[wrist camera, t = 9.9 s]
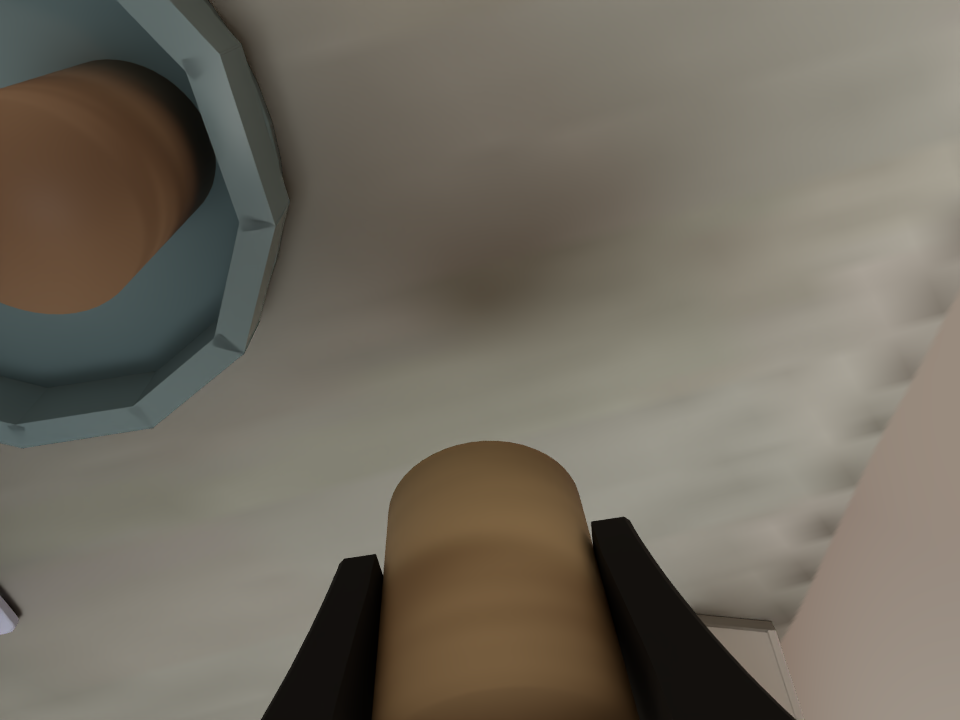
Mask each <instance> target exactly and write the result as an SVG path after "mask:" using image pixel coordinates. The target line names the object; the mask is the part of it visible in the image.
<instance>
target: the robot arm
mask: <svg viewBox="0 0 960 720" xmlns="http://www.w3.org/2000/svg"><path fill="white" fill-rule="evenodd" d="M591 527H592V540H593V549H594V553H595V556H596V560H597V564H598V568H599V571H600V575H601V579H602V582H603V586H604V590H605V593H606V597H607V600H608V604H609V608H610V611H611V615H612V619H613V622H614V626H615V630H616V634H617V637H618V641H619V645H620V648H621V652H622V656H623V660H624V663H625V667H626V671H627V674H628V678H629V682H630V685H631V689H632V693H633V697H634V700H635V704H636V708H637V711H638V715H639V719H640V720H796V719H795V718H794V717H793V716H792V715H791V714H790V713H788V712H787V711H786V710H785V709H784V708H783V707H782V706H781V705H780V704H779V703H778V702H777V701H776V700H775V699H774V698H773V697H772V696H771V695H770V694H769V693H768V692H767V691H766V690H765V689H764V688H763V687H762V686H761V685H760V684H759V683H758V682H757V681H756V680H755V679H754V678H753V677H752V676H751V675H750V674H749V673H748V672H747V671H746V670H745V669H744V668H743V667H742V666H741V664H740V663H739V662H738V661H737V660H736V659H735V658H734V657H733V656H732V655H731V654H730V653H729V651H728V650H727V649H726V648H725V647H724V646H723V645H722V644H721V642H720V641H719V640H718V639H717V638H716V637H715V636H714V635H713V633H712V632H711V631H710V630H709V629H708V628H707V626H706V625H705V624H704V623H703V622H702V621H701V619H700V618H699V617H698V616H697V615H696V613H695V612H694V611H693V610H692V608H691V607H690V606H689V605H688V603H687V602H686V601H685V600H684V598H683V597H682V596H681V595H680V593H679V592H678V591H677V590H676V588H675V587H674V586H673V584H672V583H671V582H670V580H669V579H668V578H667V576H666V575H665V574H664V572H663V571H662V569H661V568H660V567H659V565H658V564H657V562H656V561H655V560H654V558H653V557H652V555H651V554H650V552H649V551H648V549H647V548H646V546H645V545H644V543H643V542H642V540H641V539H640V537H639V535H638V534H637V532H636V531H635V529H634V527H633V525H632V524H631V522H630V520H628V519H627V518H625V517H619V518H612V519H606V520H599V521H592V522H591ZM382 586H383V574H382V571H381V568H380V565H379V562H378V559H377V556H376V554H373V555H366V556H360V557H353V558H346V559H343V561H342V562H341V563H340V564H339V566H338V569H337V571H336V574H335V576H334V578H333V581H332V583H331V585H330V588H329V590H328V592H327V594H326V597H325V599H324V601H323V603H322V605H321V608H320V610H319V612H318V614H317V616H316V618H315V620H314V622H313V624H312V626H311V628H310V631H309V632H308V634H307V636H306V638H305V640H304V642H303V644H302V646H301V648H300V650H299V652H298V654H297V656H296V658H295V660H294V662H293V664H292V666H291V668H290V669H289V671H288V673H287V675H286V677H285V679H284V680H283V682H282V684H281V686H280V687H279V689H278V691H277V693H276V694H275V696H274V698H273V699H272V701H271V703H270V705H269V706H268V708H267V710H266V712H265V713H264V715H263V717H262V719H261V720H372V709H373V697H374V684H375V672H376V660H377V648H378V635H379V623H380V611H381V599H382ZM18 622H19V619H18V617H17V615H16V614H15V613H14V612H13V610H12V609H11V608H10V607H9V605H8V604H7V603H6V602H5V601H4V599H3V598H2V597H1V596H0V634H6V633H10V632H12V631H13V630H14V629H15V627H16V626H17V624H18Z"/></svg>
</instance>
